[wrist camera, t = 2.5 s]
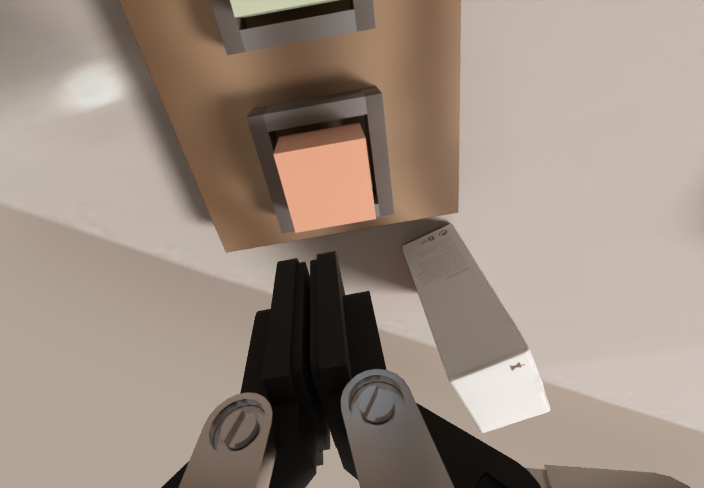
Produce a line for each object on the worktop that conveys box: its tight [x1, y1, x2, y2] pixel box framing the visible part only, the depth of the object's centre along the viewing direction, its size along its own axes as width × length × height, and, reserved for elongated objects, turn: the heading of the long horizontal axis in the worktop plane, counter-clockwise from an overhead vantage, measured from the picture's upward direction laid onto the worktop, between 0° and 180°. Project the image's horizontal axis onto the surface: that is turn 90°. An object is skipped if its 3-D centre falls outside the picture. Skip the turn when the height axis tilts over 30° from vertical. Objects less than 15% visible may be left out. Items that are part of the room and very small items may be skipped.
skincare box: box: [402, 224, 550, 433], centre depth 23 cm, size 6×4×12 cm
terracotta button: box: [273, 123, 376, 233], centre depth 17 cm, size 4×4×3 cm
